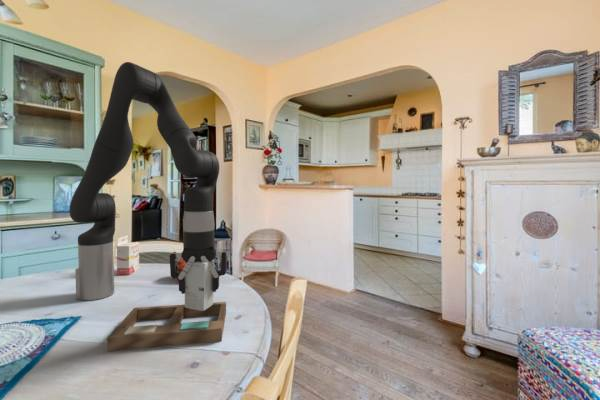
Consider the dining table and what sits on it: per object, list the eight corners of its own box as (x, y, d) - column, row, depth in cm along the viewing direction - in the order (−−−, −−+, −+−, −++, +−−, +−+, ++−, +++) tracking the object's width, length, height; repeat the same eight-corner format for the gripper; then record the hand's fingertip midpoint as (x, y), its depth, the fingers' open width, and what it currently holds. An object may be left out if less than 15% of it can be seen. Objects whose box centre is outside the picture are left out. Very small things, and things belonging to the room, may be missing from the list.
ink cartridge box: (129, 275, 112) (129, 238, 112) (116, 275, 112) (115, 238, 111) (140, 268, 121) (139, 234, 120) (128, 269, 120) (127, 234, 120)
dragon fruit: (178, 278, 114) (190, 291, 105) (160, 270, 108) (171, 282, 100) (191, 260, 116) (204, 271, 107) (175, 251, 110) (187, 261, 102)
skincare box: (183, 308, 72) (182, 261, 71) (195, 301, 76) (194, 257, 76) (204, 311, 70) (203, 263, 69) (215, 304, 74) (214, 259, 74)
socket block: (107, 351, 61) (107, 335, 61) (134, 318, 76) (134, 306, 76) (221, 340, 66) (221, 326, 66) (226, 312, 81) (226, 300, 80)
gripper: (164, 231, 67) (165, 299, 68) (226, 230, 70) (227, 295, 71) (172, 226, 74) (173, 288, 75) (228, 225, 77) (228, 285, 78)
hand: (199, 291), depth 73 cm, fingers closed on skincare box, 7 cm apart
